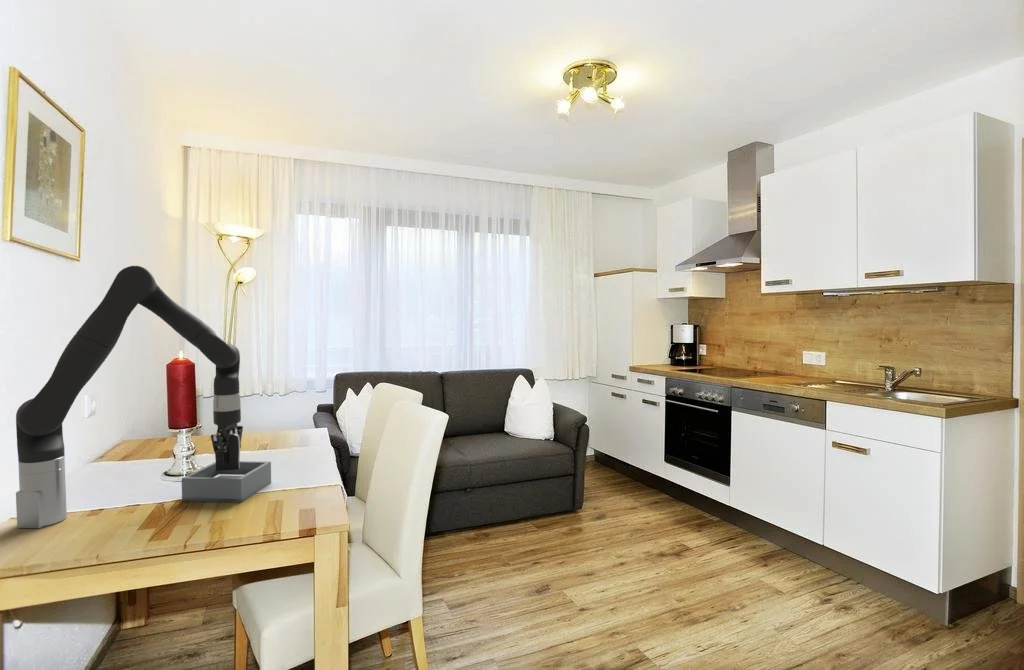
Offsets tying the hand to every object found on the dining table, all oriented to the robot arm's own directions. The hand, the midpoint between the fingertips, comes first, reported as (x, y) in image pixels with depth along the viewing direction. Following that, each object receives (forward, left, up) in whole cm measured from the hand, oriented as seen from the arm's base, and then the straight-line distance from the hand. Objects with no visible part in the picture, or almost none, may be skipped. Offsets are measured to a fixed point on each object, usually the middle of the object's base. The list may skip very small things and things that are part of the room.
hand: (228, 461), depth 164 cm
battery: (0, 0, -2) cm, 2 cm away
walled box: (0, 0, -9) cm, 9 cm away
